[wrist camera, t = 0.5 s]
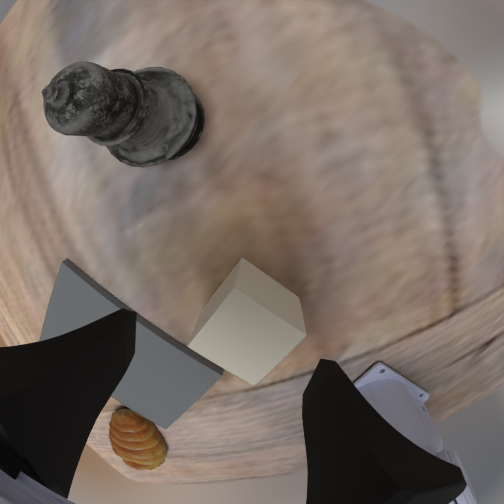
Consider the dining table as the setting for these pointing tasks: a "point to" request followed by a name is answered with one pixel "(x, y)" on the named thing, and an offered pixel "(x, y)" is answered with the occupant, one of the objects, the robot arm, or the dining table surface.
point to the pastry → (136, 440)
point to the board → (146, 350)
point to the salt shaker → (126, 111)
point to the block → (249, 324)
